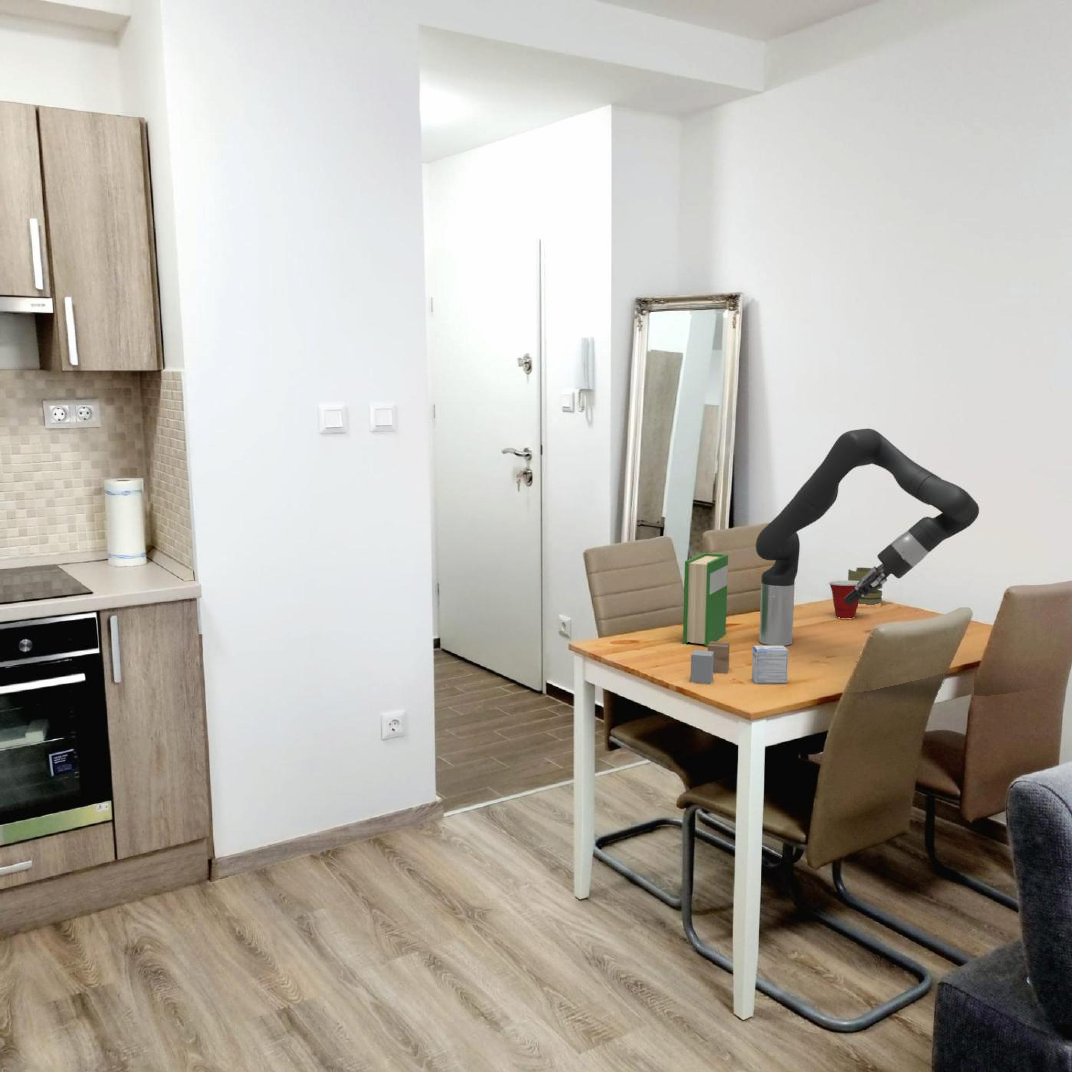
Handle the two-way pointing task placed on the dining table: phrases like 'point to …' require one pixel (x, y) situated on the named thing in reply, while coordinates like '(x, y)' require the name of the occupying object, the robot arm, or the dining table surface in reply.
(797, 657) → the dining table surface
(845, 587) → the plastic cup
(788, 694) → the dining table surface
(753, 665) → the medicine box
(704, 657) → the slate grey block
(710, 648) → the walnut block
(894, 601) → the dining table surface
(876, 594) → the piston
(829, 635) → the dining table surface
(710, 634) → the hardback book
